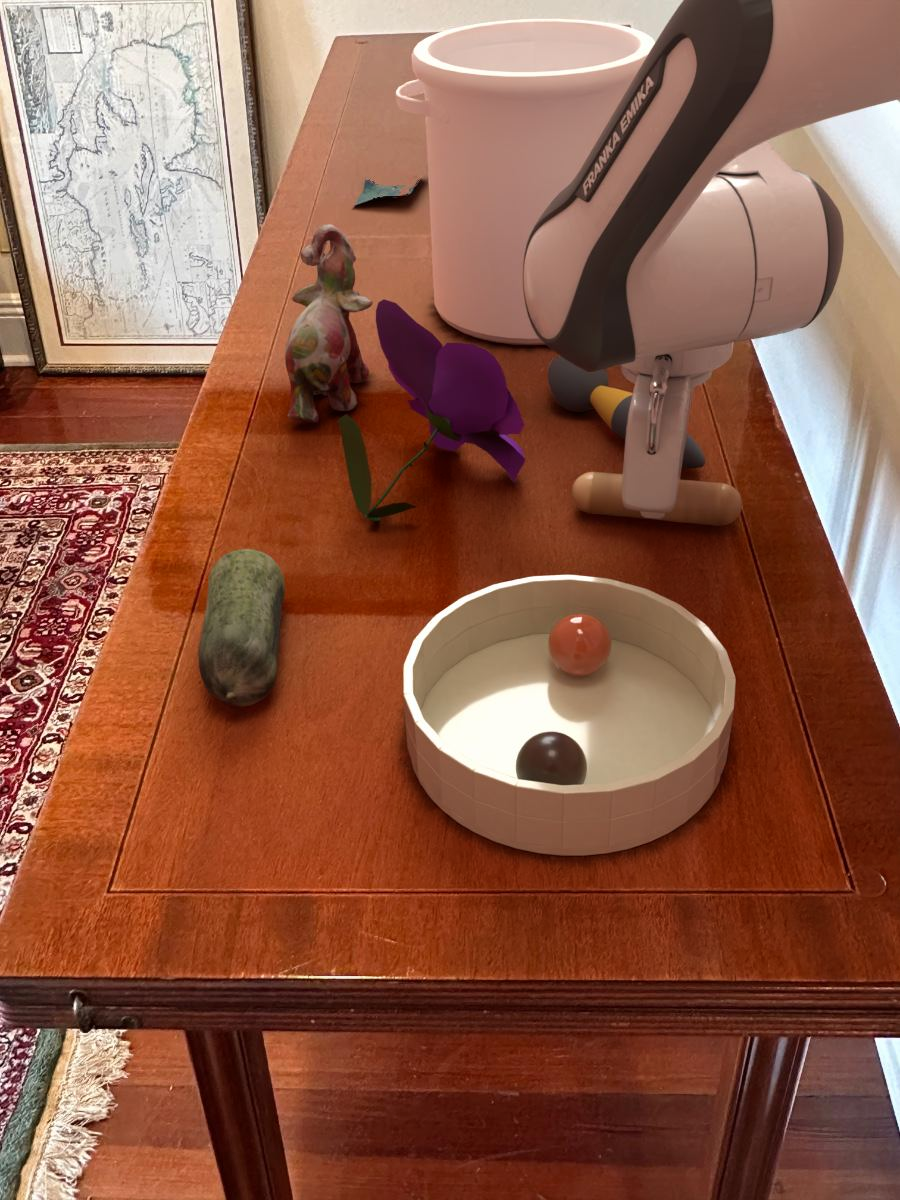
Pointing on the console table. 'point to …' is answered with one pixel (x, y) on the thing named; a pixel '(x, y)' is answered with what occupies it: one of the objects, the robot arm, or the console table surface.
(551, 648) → the bead terracotta
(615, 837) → the bowl
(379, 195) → the terrain model
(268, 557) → the vegetable
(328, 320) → the figurine
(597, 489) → the stick
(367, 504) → the flower
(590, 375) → the paintbrush
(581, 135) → the pot
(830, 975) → the console table surface
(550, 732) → the bead walnut
